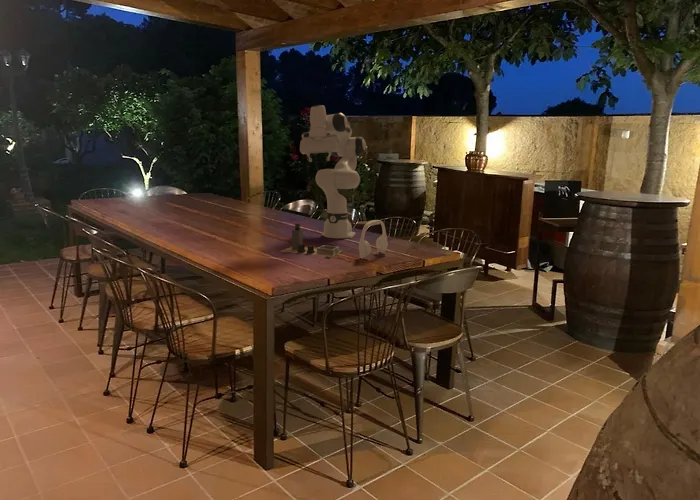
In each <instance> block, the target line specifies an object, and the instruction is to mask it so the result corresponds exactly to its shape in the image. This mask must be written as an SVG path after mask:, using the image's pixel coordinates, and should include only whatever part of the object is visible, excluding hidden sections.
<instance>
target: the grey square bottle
mask: <svg viewBox="0 0 700 500" xmlns="http://www.w3.org/2000/svg"><path fill="white" fill-rule="evenodd" d="M294 227H295V228H294V229H292V230H291V233H292V234H291V247H292V250H298V245H300V244H303V243H304V235H303V233H304V231H303V230H304V229H301V223H295V224H294ZM303 245H304V244H303Z"/></svg>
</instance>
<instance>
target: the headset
mask: <svg viewBox="0 0 700 500" xmlns="http://www.w3.org/2000/svg"><path fill="white" fill-rule="evenodd" d="M375 225H376V226H377V225H381V228H382V229H381V230H382V234H381V235H380V236H378V237H377V239H376V240H375V245H376V246H375V247H376V249H377V250H376V253H379V252H382V253H385V252H387V248H388V247H389V243H388V235H387V229H386V226H385V223H384V221H382V220H380V219H376V220H375V219H374V220H369V221H367V222H366V223H365V224H364V225H363V228H362V230H361V235H360V239H359V243H358V251H359V259H360V258H361V259H365V258H366V257H367V256H369V255H370V253H371V251H372V248H371V244H370V242H368V241H367V240H365V236H366V231H367V230H368V229H367V228H368V227H371V226H375Z"/></svg>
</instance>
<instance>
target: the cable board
mask: <svg viewBox="0 0 700 500" xmlns="http://www.w3.org/2000/svg"><path fill="white" fill-rule="evenodd" d="M340 248H341V247H340V246H337V245H336V246H335V245H326V244H323V245H321V246H318V247H315V245H311V244H310V245H308V246H306V245H305V244H300V245H298V250H292V246H290V247H287V248H284V249H282V250H281V252H283V253H294V254H295V253H296V254H304V255H305V254H306V255H310V256H311V255H312V256H313V255H314V256H323V257H324V259H332V258H334V257H336V256H338V255H340V254H341V253H344V252H343V249H340Z"/></svg>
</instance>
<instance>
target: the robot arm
mask: <svg viewBox="0 0 700 500" xmlns="http://www.w3.org/2000/svg"><path fill="white" fill-rule="evenodd" d="M309 110H310V112H309V114H310V115H309V123H310V129H309V131H307V132H304V133H302V134H301V138H302V139H301V140H300V142H299V143H300V144H299V152H300V153H301V154H302V155H306V156H307V158H308V162H311V163H312V162H313V158H312V157H311V154H325V153H328V156H326V161H327V162H328V161H331V160H330V159H331V156H333V157H335V158H340V157H341V158H340V159H339V160H338V161H337V163H336V164H335V166H334V168H324V169H322V168H321V169H319V170H318V171H317V172H316V175H315V182H316V185H317V186H318V187H319V188H320V189H321V190H322V191H323V192H324V194H325V197H326V202H327V204H326V205H327V212H326V215H325V216H326V220H325V221H324V223H323V232H322V233H321V236H323V237H325V238H328V239H351V238H353V237H354V236H355V235H356V232H355V231H352V230H353V229H352V223H351V222H350V221H349V218H348V216H349V215H350V213H349V212H347V211H348V210H347V206H348V205H347V204H348V200H347V198H346V197H345V196H344V195H342V194H340V193H339V191H338V189H339V190H352V189H357V187H358V186H359V185H360V182H361V178H360V174H359V173H358V171H357V170H356V168H357V162H358V161H357V158H361V157H362V155H363V154H364V153H365V151H366V149H367V143H366V141H365V138H364V137H362V136H353V137H351V136H352V135H353V130H352V128H351V123H350V121H349V120H348V119H347V117H346V115H345V114H344V113H342V112H337V113H334V114H333V113H332V114H327V112H326V111H327V110H326V107H325V105H322V104H317V105H316V104H315V105H313V106H311V107H310V109H309Z"/></svg>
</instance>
